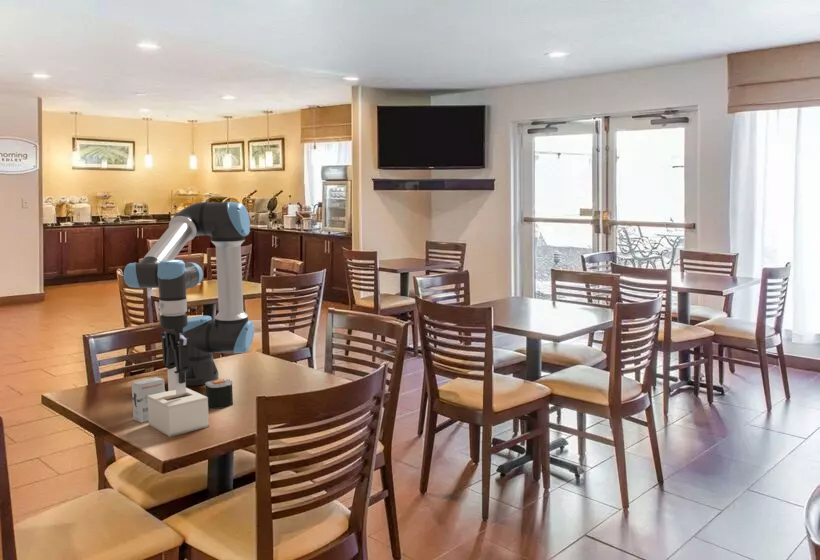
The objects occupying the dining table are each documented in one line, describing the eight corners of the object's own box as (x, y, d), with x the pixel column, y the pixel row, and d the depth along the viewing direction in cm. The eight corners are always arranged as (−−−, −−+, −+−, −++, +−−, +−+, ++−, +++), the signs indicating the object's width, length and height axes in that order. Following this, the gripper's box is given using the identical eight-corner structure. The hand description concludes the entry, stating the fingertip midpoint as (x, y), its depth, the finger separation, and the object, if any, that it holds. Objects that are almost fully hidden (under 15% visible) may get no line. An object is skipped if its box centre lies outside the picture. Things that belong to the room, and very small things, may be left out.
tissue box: (148, 424, 206) (147, 395, 204) (186, 415, 214) (185, 387, 213) (170, 436, 196) (168, 406, 195) (208, 426, 204) (207, 397, 203)
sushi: (236, 405, 224) (235, 381, 223) (210, 409, 219) (209, 385, 218) (228, 398, 231) (227, 375, 230) (203, 403, 226) (202, 379, 225)
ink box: (158, 412, 217) (156, 375, 215) (167, 415, 214) (165, 378, 212) (132, 419, 210) (130, 381, 209) (141, 423, 207) (138, 384, 206)
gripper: (148, 311, 204) (152, 388, 207) (174, 319, 191) (178, 401, 195) (172, 308, 209) (175, 383, 212) (199, 315, 197) (203, 395, 200)
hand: (177, 391), depth 203 cm, fingers open, 4 cm apart
